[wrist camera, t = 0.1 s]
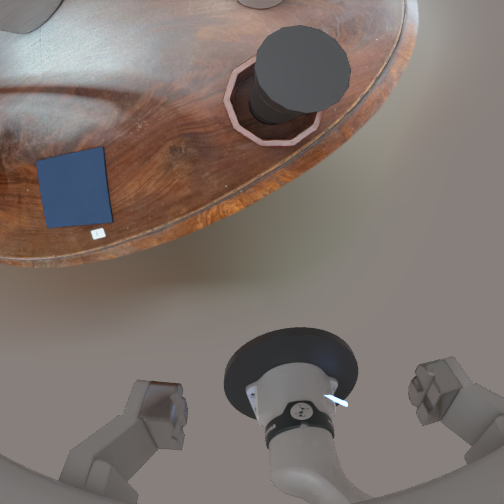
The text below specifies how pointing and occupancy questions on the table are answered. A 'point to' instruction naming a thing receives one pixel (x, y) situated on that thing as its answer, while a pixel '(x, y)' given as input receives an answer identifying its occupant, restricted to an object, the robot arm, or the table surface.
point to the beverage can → (260, 3)
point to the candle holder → (297, 74)
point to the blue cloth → (75, 189)
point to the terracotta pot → (295, 137)
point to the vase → (25, 14)
